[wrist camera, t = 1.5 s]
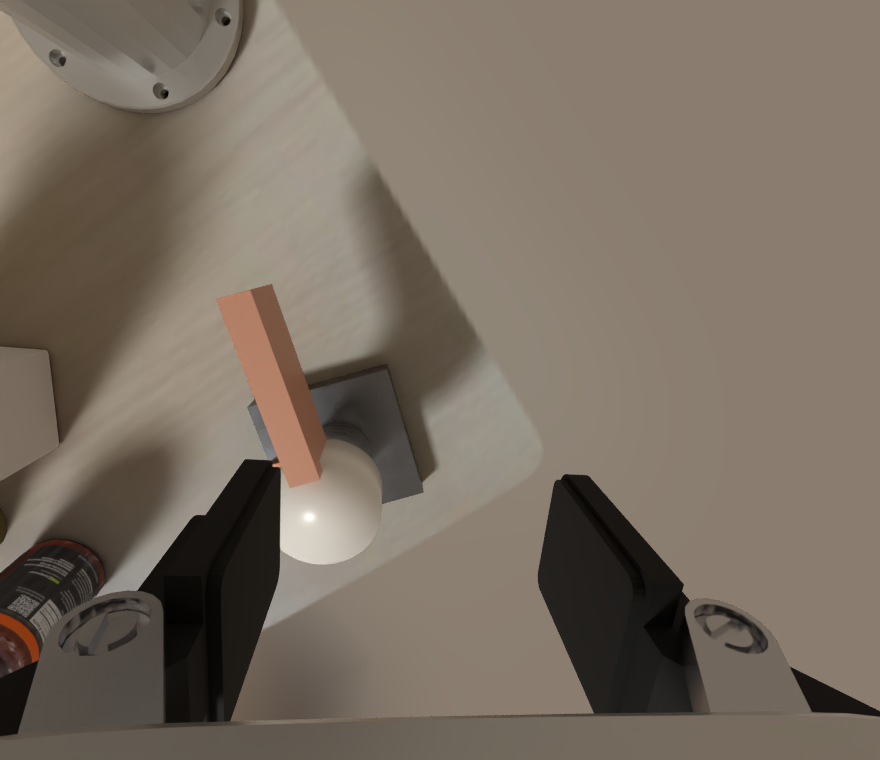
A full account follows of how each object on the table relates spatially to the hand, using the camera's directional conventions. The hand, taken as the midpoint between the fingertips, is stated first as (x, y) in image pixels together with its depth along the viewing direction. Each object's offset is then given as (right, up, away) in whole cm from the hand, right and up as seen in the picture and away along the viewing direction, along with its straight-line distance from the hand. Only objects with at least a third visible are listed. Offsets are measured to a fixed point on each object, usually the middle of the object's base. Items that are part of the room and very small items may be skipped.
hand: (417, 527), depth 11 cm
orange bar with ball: (-7, +1, +16) cm, 18 cm away
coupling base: (-7, -1, +24) cm, 25 cm away
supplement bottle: (-28, -11, +25) cm, 39 cm away
